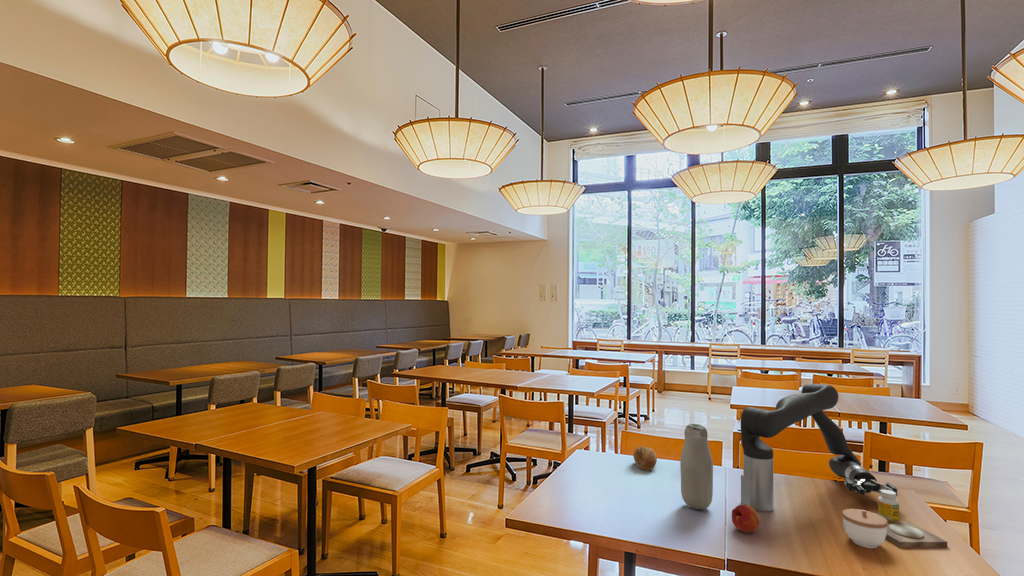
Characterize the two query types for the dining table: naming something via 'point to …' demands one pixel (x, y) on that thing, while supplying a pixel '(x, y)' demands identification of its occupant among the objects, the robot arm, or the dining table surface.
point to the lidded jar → (865, 527)
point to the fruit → (745, 518)
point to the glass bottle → (696, 468)
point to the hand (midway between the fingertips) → (878, 494)
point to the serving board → (911, 535)
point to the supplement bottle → (888, 505)
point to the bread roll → (645, 458)
